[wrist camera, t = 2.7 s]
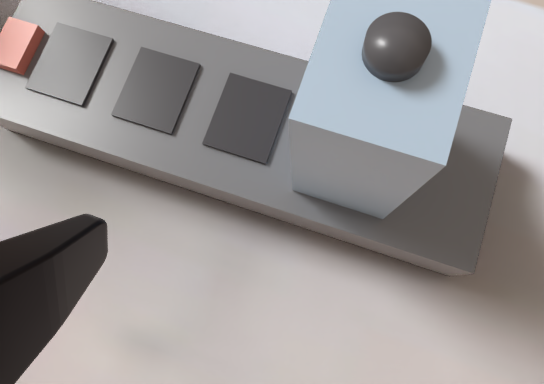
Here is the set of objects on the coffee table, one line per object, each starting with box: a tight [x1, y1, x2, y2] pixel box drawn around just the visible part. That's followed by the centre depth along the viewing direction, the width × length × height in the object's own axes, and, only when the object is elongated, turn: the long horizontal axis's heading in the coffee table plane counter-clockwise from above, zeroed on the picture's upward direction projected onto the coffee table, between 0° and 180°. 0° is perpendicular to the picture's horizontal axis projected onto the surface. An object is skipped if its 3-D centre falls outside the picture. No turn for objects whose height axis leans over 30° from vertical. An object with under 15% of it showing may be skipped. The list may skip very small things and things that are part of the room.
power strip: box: [0, 0, 512, 276], centre depth 21 cm, size 31×7×4 cm, turn 71°
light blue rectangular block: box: [288, 0, 491, 219], centre depth 16 cm, size 4×5×11 cm
